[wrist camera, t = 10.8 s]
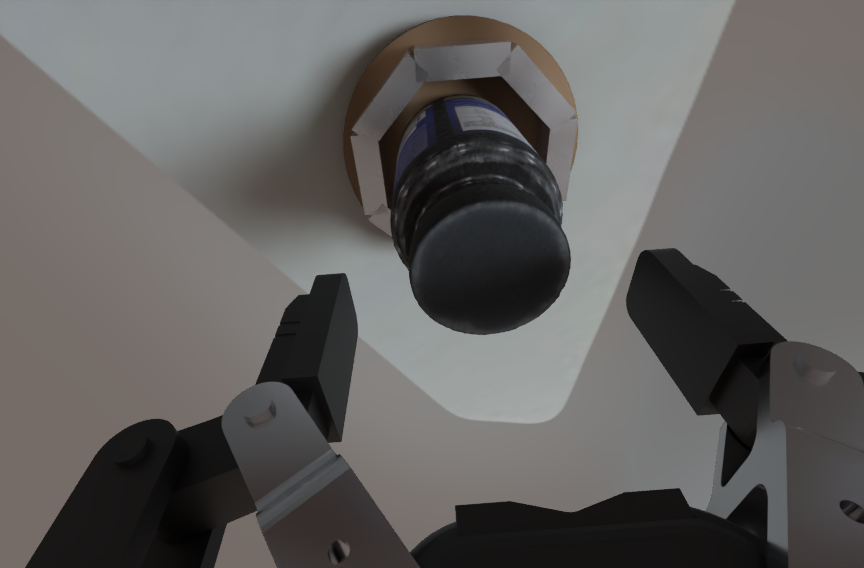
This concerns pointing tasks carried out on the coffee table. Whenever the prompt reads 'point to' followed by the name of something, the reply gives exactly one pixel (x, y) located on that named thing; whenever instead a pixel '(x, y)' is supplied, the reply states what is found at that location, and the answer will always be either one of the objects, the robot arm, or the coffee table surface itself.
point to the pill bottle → (477, 218)
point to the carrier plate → (448, 75)
